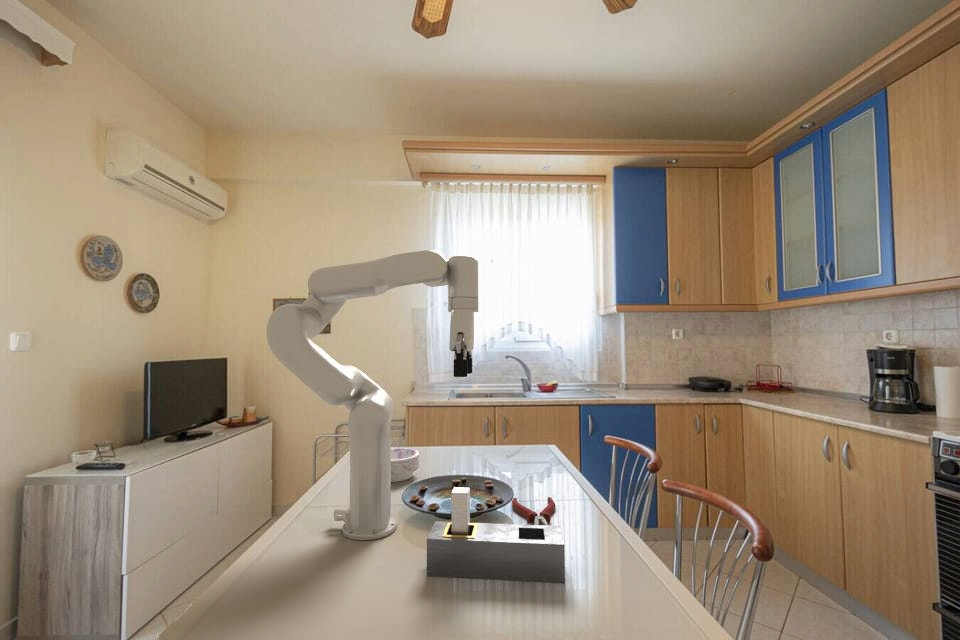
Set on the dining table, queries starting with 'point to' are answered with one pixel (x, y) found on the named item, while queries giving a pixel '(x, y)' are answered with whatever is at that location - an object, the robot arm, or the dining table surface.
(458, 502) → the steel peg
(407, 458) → the white textured bowl
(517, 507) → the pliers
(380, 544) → the dining table surface
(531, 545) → the grey peg board
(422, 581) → the dining table surface
